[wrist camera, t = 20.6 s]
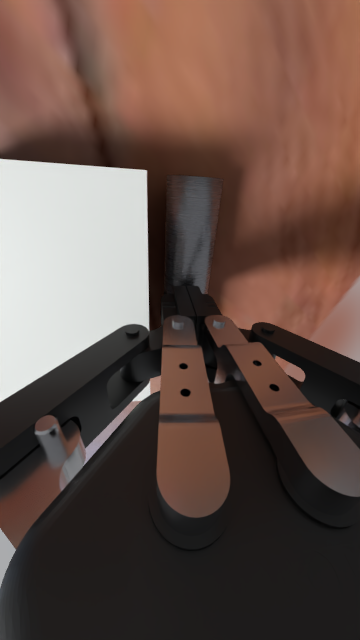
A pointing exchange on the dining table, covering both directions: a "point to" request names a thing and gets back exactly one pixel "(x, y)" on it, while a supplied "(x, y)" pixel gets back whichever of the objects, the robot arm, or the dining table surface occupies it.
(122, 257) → the slab
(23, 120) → the dining table surface
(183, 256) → the roller track
